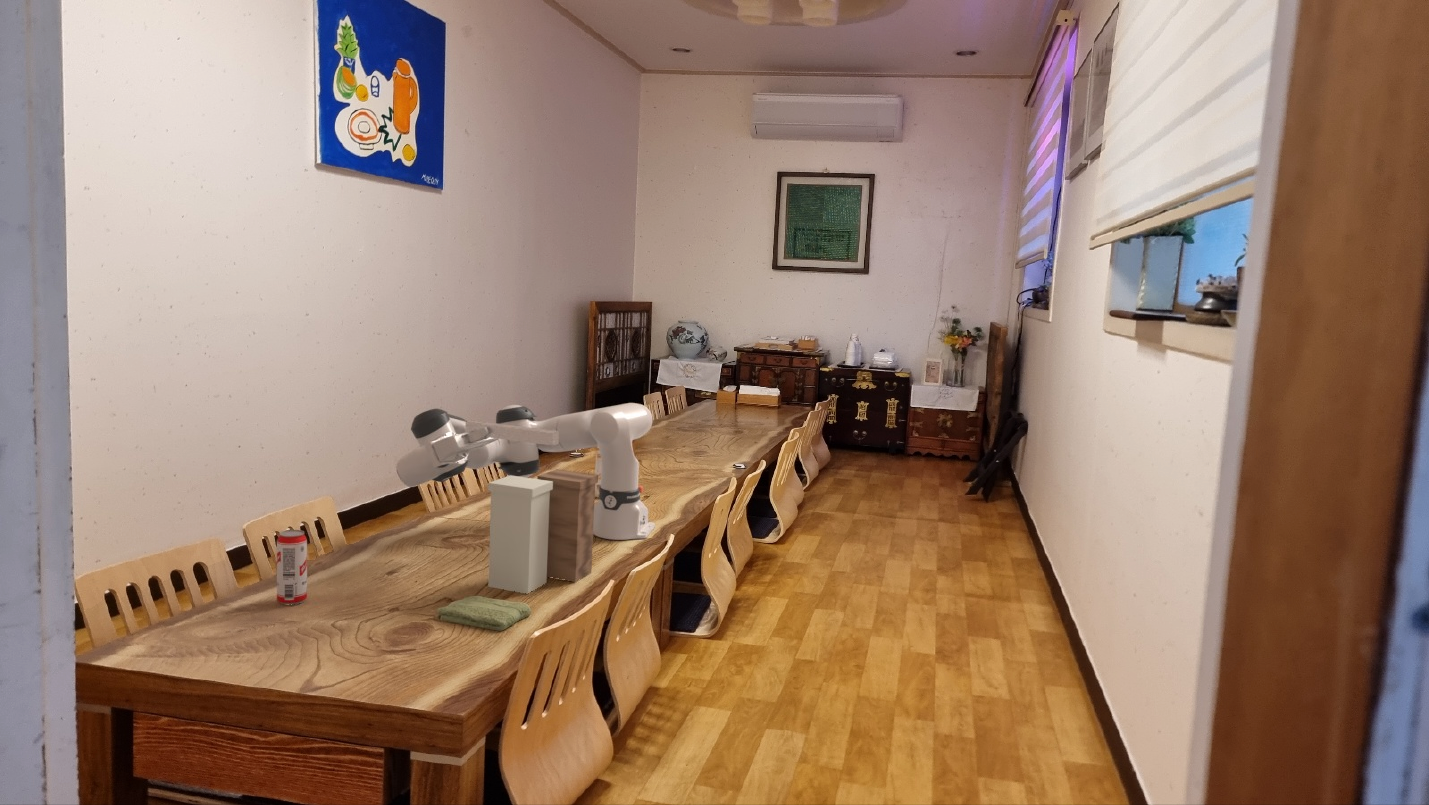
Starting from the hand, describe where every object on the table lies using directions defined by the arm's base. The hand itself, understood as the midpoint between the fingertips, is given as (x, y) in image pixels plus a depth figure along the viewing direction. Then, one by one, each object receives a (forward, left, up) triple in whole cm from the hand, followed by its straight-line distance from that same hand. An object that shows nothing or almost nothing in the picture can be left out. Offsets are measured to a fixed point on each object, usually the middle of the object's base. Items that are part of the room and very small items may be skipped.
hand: (492, 428), depth 233 cm
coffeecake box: (-99, -15, -39) cm, 107 cm away
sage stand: (0, +8, -38) cm, 39 cm away
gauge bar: (0, +5, -2) cm, 6 cm away
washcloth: (+22, +13, -39) cm, 46 cm away
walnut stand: (-13, +14, -38) cm, 43 cm away
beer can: (+34, -30, -38) cm, 59 cm away
